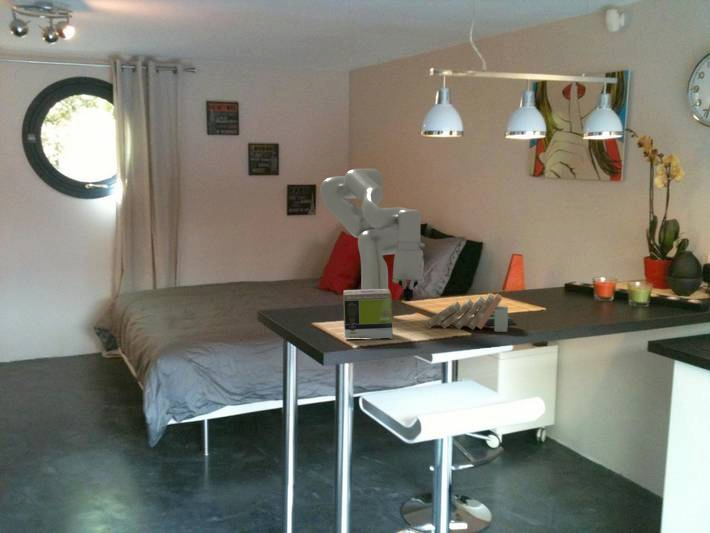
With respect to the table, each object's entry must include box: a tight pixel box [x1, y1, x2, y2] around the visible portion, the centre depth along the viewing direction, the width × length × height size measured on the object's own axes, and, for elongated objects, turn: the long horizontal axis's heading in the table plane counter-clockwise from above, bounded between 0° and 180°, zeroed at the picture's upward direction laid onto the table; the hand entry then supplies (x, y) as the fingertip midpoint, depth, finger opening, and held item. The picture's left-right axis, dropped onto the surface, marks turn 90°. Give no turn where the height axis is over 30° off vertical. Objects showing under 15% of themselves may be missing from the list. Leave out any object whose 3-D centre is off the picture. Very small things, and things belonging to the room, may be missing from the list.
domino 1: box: [425, 300, 461, 329], centre depth 240 cm, size 2×6×12 cm
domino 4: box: [468, 293, 495, 331], centre depth 237 cm, size 2×6×12 cm, turn 166°
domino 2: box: [440, 298, 474, 329], centre depth 239 cm, size 2×6×12 cm
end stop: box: [493, 305, 509, 333], centre depth 236 cm, size 4×8×7 cm, turn 167°
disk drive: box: [473, 310, 514, 326], centre depth 250 cm, size 10×3×15 cm
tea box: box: [342, 288, 394, 340], centre depth 227 cm, size 15×10×15 cm, turn 92°
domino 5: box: [476, 292, 503, 330], centre depth 236 cm, size 2×6×12 cm, turn 166°
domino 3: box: [454, 295, 485, 330], centre depth 238 cm, size 2×6×12 cm
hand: (408, 300), depth 243 cm, fingers closed
